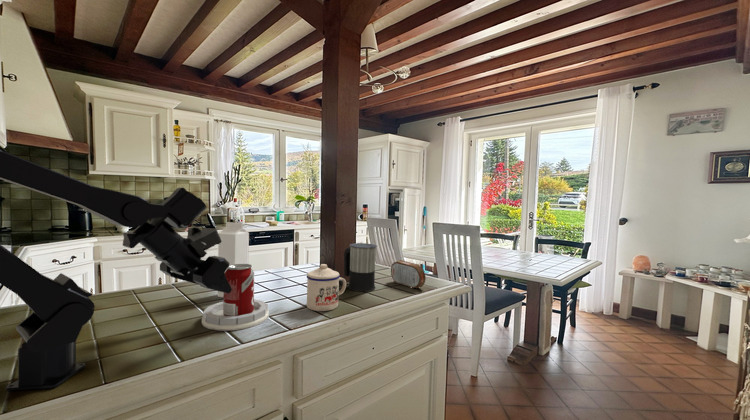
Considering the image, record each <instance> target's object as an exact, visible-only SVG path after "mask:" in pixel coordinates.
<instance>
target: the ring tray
mask: <svg viewBox="0 0 750 420" xmlns="http://www.w3.org/2000/svg"><path fill="white" fill-rule="evenodd" d="M269 317H270V311H269V306H268V304H267V303H266V302H265V301H263V300H260V299H255V298H254V311H253V312H252V313H250V314H245V315H240V316H224V315H223V301H220V302H217V303H214V304H211V305H209V306H207V307H206V308H205V309H204V310H203V315H202V317H201V325H202V326H203V327H204V328H206V329H208V330H212V331H218V332H220V331H221V332H223V331H225V332H227V331H228V332H229V331H239V330H244V329H248V328H252V327H255V326H258V325H260V324H263V323H264V322H266V321H267V320H268V319H269Z"/></svg>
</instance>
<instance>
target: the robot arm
mask: <svg viewBox="0 0 750 420" xmlns="http://www.w3.org/2000/svg"><path fill="white" fill-rule="evenodd" d="M0 180H2V181H5V182H7V183H10V184H13V185H17V186H20V187H21V188H22V187H23V188H25V189H28V190H31V191H34V192H37V193H40V194H43V195H46V196H50V197H52V198H54V199H58V200H61V201H64V202H67V203H70V204H73V205H75V206H78V207H80V208H81V209H83V210H86V212H89V213H91V214H92V215H94V216H96V217H97V218H100V219H102V220H104V221H105V222H107V223H110V224H112V225H115V226H121V227H125V228H131V229H132V228H135V229H133V231H131V232H123V233H122V236H123V240H122V246H123V247H126V248H129V249H134V248H135V247H136V246H138V245H139V244H140V245H141V246H142V247H143V248H145V249H146V250H147V251H149V252H150V253H152V254H153V256H154V258H155V259H156V260H157V261H158V262H160V263H159V271H160V272H161V273H163V274H165V275H166V276H169V277H171V278H173V279H177V280H180V281H185V282H188V283H192V284H196V285H199V286H200V287H202V288H206V289H209V290H213V291H217V292H218V291H220V292H224V293H228V294H229V293H230V292H231V291H232V288H231V286H230V284H229V282H228V281H227V279H226V276H225V271H226V269H227V268H228V267H229V264H230V263H229V262H228V261H227V260H226V259H225V258H222V257H218V256H217V255H211V256H210V255H209V256H208V257H207V258H206V259H205V260H204V259H202V258H204V257H205V256H206V255H208V253H207V250H209V249H210V248H212V247H215V246H216V245H219V244H220V243H221V242H222V241H221V238H220V236H219V232H218V229H217V228H212V227H211V228H210V227H208V228H207V227H203V228H199V227H197V226H193V227H190V228H188V227H189V226H190V225H191V224H192V223H193V222H194V221H196V219H197V218H199V217H200V215H202V214H203V213H204V212H205V211H206V210H207V205H206V203H205V201H203V200H202V199H201V198H200V197H197V196H196V195H195V194H193V193H192V192H190V191H187V189H185V187H177V188H176V189H175V190H173V191H172V193H171V194H170V195H169V196H168V197H167V198H166V199H165V200H163V201H162V202H161V203H152V202H149V201H148V200H147V199H146V198H144V197H142V196H139V195H135V194H130V193H126V192H123V191H118V190H113V189H108V188H103V187H98V186H94V185H92V184H89V183H86V182H84V181H81V180H78V179H77V178H74V177H71V176H68V175H65V174H64V173H61V172H58V171H56V170H54V169H51V168H48V167H45V166H42V165H40V164H37V163H35V162H32V161H30V160H27V159H24V158H22V157H19V156H17V155H14V154H12V153H9V152H7V151H4V150H2V149H0ZM149 220H150V221H149ZM172 227H173V228H172ZM181 227H182V228H184V229H185V228H186V229H187V228H188V230H187V236H186V237H183V236H182V235H181V234H179V233H178V231H176V230H175V229H180V228H181ZM174 228H175V229H174ZM0 284H1V286H3V287H5V288H6V289H8V290H10V291H11V292H13V293H14V294H15V295H17V297H19V298H20V299H21V301H23V303H25V305H26V306H27V307H28V308H29V309H30V310H31V311H32V312H31V313H30V314H29V315H28V316H27V317H26V318H24V319H23V320H22V321H21V322H19V323H18V324H17V325H16V326H15V329H16V331H17V333H18V334H19V336H20V337H21V338H22V339H24V342H23V343H22V344H21V347H19V348H18V349H17V350H18V351H17V352H18V353H17V354H18V355H17V359H18V360H17V363H18V364H17V367H18V368H17V370H18V371H17V373H18V375H17V378H18V379H17V380H14V382H11V383H10V384H8V385H7V386H5V391H9V392H10V391H26V390H42V389H54V388H57V387H59V386H60V385H61V384H62V383H64V382H65V381H67V380H68V379H70V378H71V377H72V376H74V375H75V374H77V373H78V372H80V371H81V370H82V369H84V368H85V367H86V363H85V362H82V363H81V362H79V363H76V362H77V361H76V360H77V340H78V337H79V335H80V333H81V330H82V329H83V327H84V326H85V325H86V324H87V323H88V322H90V320H91V319H92V317H93V315H94V314H95V313H94V312H95V307H96V306H95V303H94V302H93V301H92V299H90V297H92V296H93V294H92V293H91V292H90V291H88V290H86V289H84V288H82V287H81V286H79V285H78V284H77V283H76V282H75V281H74V280H73V279H72V278H71V277H69V276H67V275H66V274H64V273H62V272H61V273H59V274H58V275H57V276H56V277H55V278H54V279H52V278H50V277H49V276H46V275H44V274H42V273H40V272H39V271H38V270H36V269H35V268H33V267H32V266H31V265H30V264H28V263H27V262H25V261H24V260H23V259H21V258H20V257H19V256H17V255H15V254H14V253H13V252H12V251H10V250H9V249H7V248H6V247H5V246H3V245H2V244H0Z"/></svg>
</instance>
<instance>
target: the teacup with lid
mask: <svg viewBox="0 0 750 420" xmlns="http://www.w3.org/2000/svg"><path fill="white" fill-rule="evenodd" d="M306 278H307V280H306V281H307V282H306V283H307V285H306V286H307V287H306V307H307V309H309V310H311V311H316V312H326V311H327V312H328V311H333V310H334V309H337V308H338V307H339V296H340V295H342V294H343V293H344V292H345V290H346V288H347V285H346V284H347V281H346V279H345V278H343V277H340V273H339V272H338V271H336V270H333V269H332V268H329V267H328V265H327V263H326V264H325V263H321V264H320V265H319V267H317V268H315V269H314V270H311V271H309V272H307V274H306ZM339 280H341V281H343V286H342V289H341V290H340V291H339V288H340V287H339V286H340V284H339ZM338 291H339V292H338Z"/></svg>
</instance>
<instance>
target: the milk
mask: <svg viewBox="0 0 750 420" xmlns="http://www.w3.org/2000/svg"><path fill="white" fill-rule="evenodd" d="M243 227H244V226H243V222H234V221H233V222H231V221H227V222H226V223H225V227H224V228H223V229H222V230H221V231H220V232H218V234H219V236H220V238H221V241H222V242H221V243H220V244H217V247H218V252H217V253H218V254H217V255H218V257H222V258H225V259H226V260H227V261H228V262H229V263H230V264H229V265H233V264H249V255H250V254H249V244H250V243H249V241H250V232H248V231H247V230H246V229H244V228H243ZM226 270H227V269H226ZM225 272H226V271H225ZM217 297H218V298H223V299H224V292H220V291H217Z"/></svg>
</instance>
